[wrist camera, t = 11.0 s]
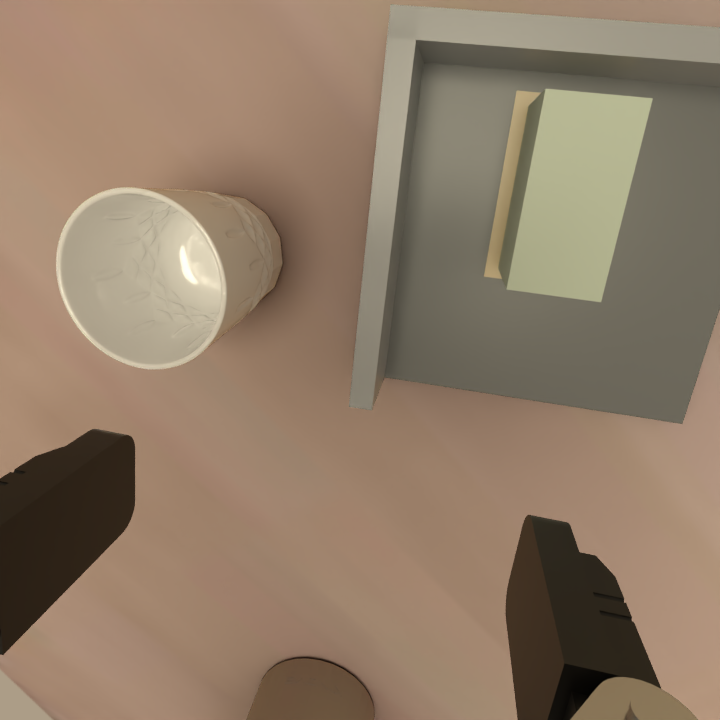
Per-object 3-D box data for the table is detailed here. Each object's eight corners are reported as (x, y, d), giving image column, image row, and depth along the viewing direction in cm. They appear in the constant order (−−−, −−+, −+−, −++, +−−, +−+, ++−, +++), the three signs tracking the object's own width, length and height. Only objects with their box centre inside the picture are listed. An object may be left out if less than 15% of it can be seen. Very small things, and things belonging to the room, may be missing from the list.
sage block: (613, 114, 27) (652, 98, 21) (574, 277, 30) (601, 302, 24) (528, 106, 27) (545, 88, 22) (498, 267, 30) (506, 289, 24)
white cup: (195, 330, 35) (99, 386, 26) (148, 206, 33) (25, 218, 24) (310, 299, 33) (251, 347, 24) (267, 165, 31) (185, 161, 22)
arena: (677, 418, 32) (721, 468, 26) (366, 369, 34) (348, 406, 29) (789, 66, 26) (875, 38, 20) (404, 37, 28) (390, 4, 23)
